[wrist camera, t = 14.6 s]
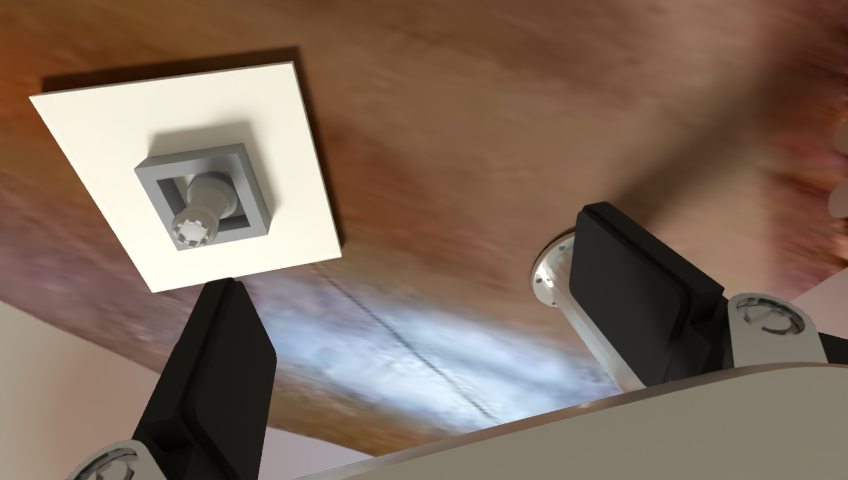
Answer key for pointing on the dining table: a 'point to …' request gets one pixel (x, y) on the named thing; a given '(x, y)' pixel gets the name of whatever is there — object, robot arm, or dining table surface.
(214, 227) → the rook chess piece
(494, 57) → the dining table surface
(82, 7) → the dining table surface
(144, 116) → the socket board
